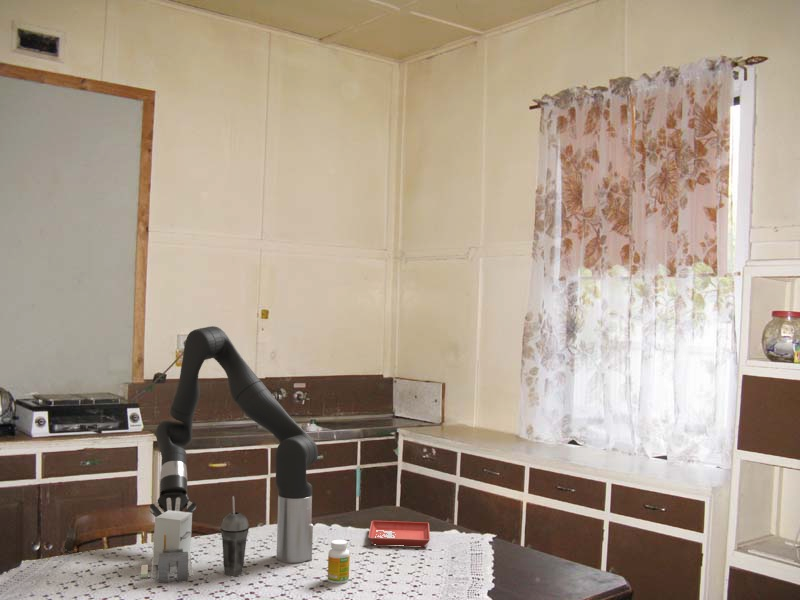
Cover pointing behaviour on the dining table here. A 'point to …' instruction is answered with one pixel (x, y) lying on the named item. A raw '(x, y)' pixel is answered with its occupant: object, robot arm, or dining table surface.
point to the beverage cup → (234, 542)
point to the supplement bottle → (338, 562)
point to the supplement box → (172, 532)
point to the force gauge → (163, 567)
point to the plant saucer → (400, 533)
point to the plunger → (173, 564)
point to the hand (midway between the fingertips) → (172, 536)
